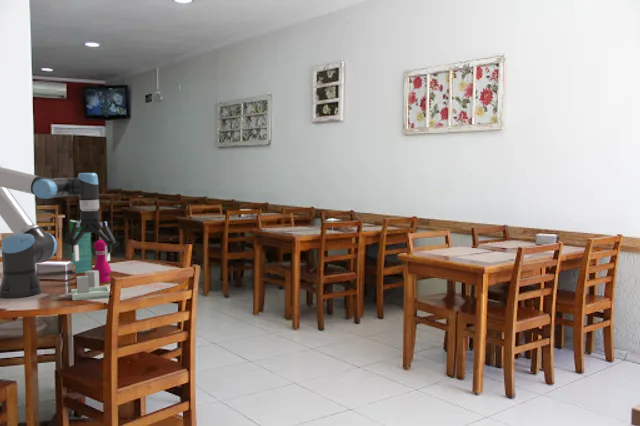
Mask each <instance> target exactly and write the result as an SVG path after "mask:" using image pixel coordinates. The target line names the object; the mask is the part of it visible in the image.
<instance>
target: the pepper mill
mask: <svg viewBox="0 0 640 426" xmlns="http://www.w3.org/2000/svg"><path fill="white" fill-rule="evenodd" d="M106 245H107V244H106V243H105V242H104V241H103V240H102V239H101V238H100V236H98V240H96V241H95V242H94V244H93V248H94V250H95V255H96V262H95V265H94V267H93V270H98V271H99V283H108V282H110V281H111V277H110V276H109V275H110V274H111V273H112V269H111V265H110V264H109V261H106V258H105V246H106Z"/></svg>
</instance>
